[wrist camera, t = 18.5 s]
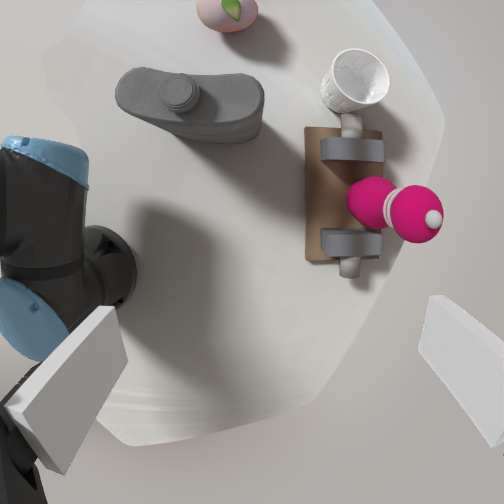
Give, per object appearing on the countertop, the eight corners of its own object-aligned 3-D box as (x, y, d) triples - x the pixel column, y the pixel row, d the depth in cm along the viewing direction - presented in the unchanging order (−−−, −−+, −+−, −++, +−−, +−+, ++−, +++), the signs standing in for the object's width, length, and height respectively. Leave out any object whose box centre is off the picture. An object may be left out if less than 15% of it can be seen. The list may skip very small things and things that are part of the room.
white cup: (372, 103, 40) (400, 88, 30) (335, 126, 41) (357, 114, 31) (344, 63, 38) (365, 40, 29) (305, 84, 40) (319, 63, 30)
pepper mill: (357, 166, 41) (429, 165, 22) (393, 192, 42) (475, 209, 23) (334, 207, 43) (393, 234, 24) (371, 231, 44) (442, 272, 24)
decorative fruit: (193, 14, 36) (180, -16, 26) (237, -5, 35) (234, -38, 25) (218, 53, 38) (209, 25, 28) (265, 32, 37) (268, 1, 27)
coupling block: (304, 267, 47) (312, 281, 41) (303, 118, 41) (312, 110, 35) (374, 264, 47) (390, 277, 40) (377, 123, 41) (395, 117, 35)
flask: (159, 137, 42) (96, 116, 22) (166, 101, 40) (110, 59, 21) (256, 150, 42) (258, 131, 23) (262, 113, 41) (270, 68, 21)
